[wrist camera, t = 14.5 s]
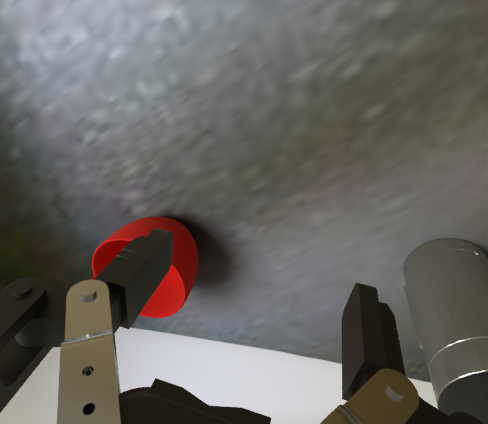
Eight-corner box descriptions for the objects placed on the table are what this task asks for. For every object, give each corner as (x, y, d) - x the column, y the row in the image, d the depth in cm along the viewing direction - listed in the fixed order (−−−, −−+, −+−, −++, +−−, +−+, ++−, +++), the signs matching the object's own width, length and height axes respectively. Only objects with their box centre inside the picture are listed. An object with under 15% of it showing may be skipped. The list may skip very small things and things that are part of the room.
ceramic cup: (100, 218, 51) (52, 257, 42) (186, 188, 44) (150, 227, 35) (143, 280, 56) (108, 326, 47) (227, 262, 49) (204, 312, 40)
